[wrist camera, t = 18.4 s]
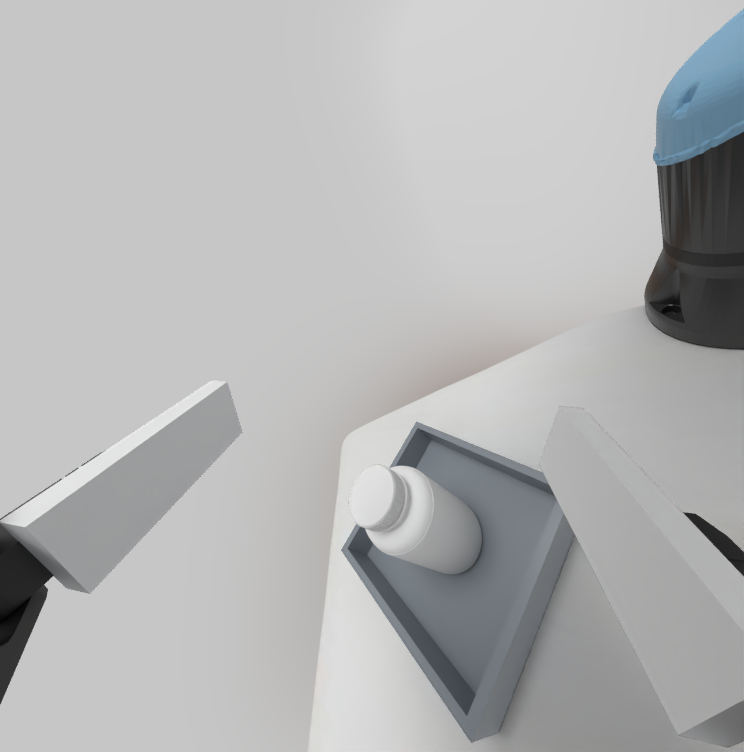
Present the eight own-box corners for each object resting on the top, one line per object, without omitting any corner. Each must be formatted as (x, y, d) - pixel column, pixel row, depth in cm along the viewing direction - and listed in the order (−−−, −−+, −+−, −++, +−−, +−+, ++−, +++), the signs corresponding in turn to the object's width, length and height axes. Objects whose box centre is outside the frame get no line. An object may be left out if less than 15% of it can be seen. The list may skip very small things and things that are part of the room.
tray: (433, 436, 42) (416, 421, 40) (586, 503, 26) (574, 485, 23) (365, 557, 38) (341, 550, 35) (498, 732, 21) (471, 742, 19)
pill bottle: (460, 596, 27) (365, 570, 19) (410, 540, 34) (325, 504, 26) (498, 527, 29) (424, 476, 21) (443, 486, 35) (371, 436, 27)
